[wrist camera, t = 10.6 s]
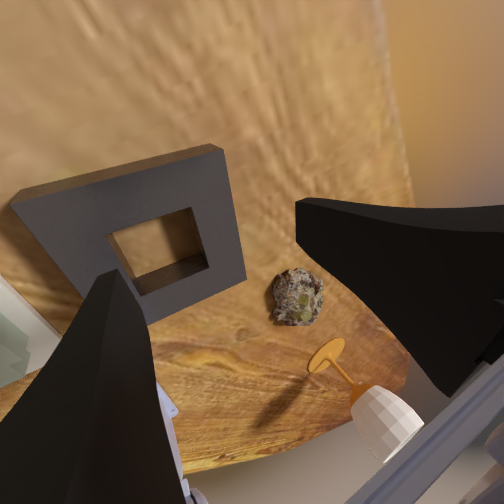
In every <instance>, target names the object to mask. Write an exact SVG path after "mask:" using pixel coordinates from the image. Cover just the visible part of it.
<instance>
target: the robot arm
mask: <svg viewBox="0 0 504 504" xmlns="http://www.w3.org/2000/svg"><path fill="white" fill-rule="evenodd" d="M295 215H296V242H297V243H298V245H299V246H300V247H301V248H302V249H303V250H304V251H305V252H306V253H307V254H308V256H309V257H311V258H312V259H313V260H314V261H315V262H316V263H318V264H319V265H320V266H321V267H323V268H324V269H325V270H326V271H328V272H329V273H330V274H331V275H333V276H334V277H335V278H336V279H338V280H339V281H340V282H341V283H343V284H344V285H345V286H346V287H347V288H349V289H350V290H351V291H352V292H353V293H354V294H355V295H357V296H358V297H359V298H360V299H361V300H362V301H363V302H364V303H365V304H366V305H367V306H368V307H369V308H370V309H371V310H372V311H373V312H374V314H375V315H376V316H377V317H378V318H379V319H380V320H381V321H382V322H383V323H384V324H385V325H386V326H387V327H388V329H389V330H390V331H391V332H392V333H393V334H394V335H395V337H396V338H397V339H398V340H399V341H400V342H401V344H402V345H403V346H404V347H405V348H406V349H407V350H408V352H409V353H410V354H411V356H412V357H413V358H414V359H415V361H416V362H417V363H418V364H419V366H420V367H421V368H422V369H423V371H424V372H425V373H426V374H427V376H428V377H429V378H430V380H431V381H432V383H433V384H434V385H435V386H436V387H437V388H438V389H439V390H440V391H441V392H442V393H444V394H445V395H446V396H447V397H449V398H450V397H452V396H453V395H454V394H455V393H456V392H457V391H458V390H459V389H460V388H461V387H462V386H463V385H464V384H466V382H468V381H469V380H470V379H471V378H472V377H473V376H474V375H475V374H476V373H478V372H479V371H480V370H481V369H482V368H483V367H484V366H485V365H486V364H487V363H489V364H490V365H491V366H490V367H489V368H488V369H487V370H486V371H485V372H484V373H483V374H482V375H481V376H480V377H478V378H477V379H476V380H475V381H474V382H473V383H472V384H471V385H470V386H469V387H468V388H467V389H466V390H465V391H464V392H463V393H461V394H460V395H459V396H458V397H457V398H456V399H455V400H454V401H453V402H452V403H451V404H450V405H449V406H448V407H446V408H445V409H444V410H443V411H442V412H441V413H440V414H439V415H438V416H437V417H436V418H435V419H434V420H433V421H432V422H431V423H429V424H428V425H427V426H426V427H425V428H424V429H423V430H422V431H421V432H420V433H419V434H418V435H417V436H416V437H415V438H413V440H412V441H410V442H409V443H408V444H407V445H406V446H405V447H404V448H403V449H402V450H401V451H400V452H398V454H396V455H395V456H394V457H393V458H392V459H391V460H390V461H389V462H388V463H387V464H386V465H385V466H384V467H383V468H381V470H379V471H378V472H377V473H376V474H375V475H374V476H373V477H372V478H371V479H370V480H369V481H368V482H367V483H366V484H364V485H363V486H362V487H361V488H360V489H359V490H358V491H357V492H356V493H355V494H354V495H353V496H352V497H350V498H349V499H348V500H347V501H346V502H345V503H344V504H414V503H415V502H416V501H417V500H418V499H419V498H420V497H421V496H422V495H423V494H424V493H425V492H426V490H427V489H428V488H429V487H430V486H431V485H432V484H433V483H434V482H435V481H436V480H437V479H438V478H439V477H440V475H441V474H442V473H443V472H444V471H445V470H446V469H447V468H448V467H449V466H450V465H451V464H452V463H453V461H454V460H455V459H456V458H457V457H458V456H459V455H460V454H461V453H462V452H463V451H464V450H465V449H466V447H468V445H469V444H470V443H471V442H472V441H473V440H474V439H475V438H476V437H477V436H478V435H479V434H480V433H481V432H482V431H483V429H484V428H485V427H486V426H487V425H488V424H489V423H490V422H491V421H492V420H493V419H494V418H495V417H496V416H497V414H498V413H499V412H500V411H501V410H502V409H503V408H504V205H495V206H482V207H467V208H466V207H465V208H405V207H390V206H379V205H370V204H362V203H354V202H347V201H339V200H332V199H323V198H304V199H302V200H299V201H296V202H295ZM177 414H178V409H177V408H176V406H175V405H174V404H173V402H172V401H171V400H170V398H169V397H168V396H167V394H166V393H165V392H164V390H163V389H162V388H161V386H160V385H159V384H158V382H157V381H156V377H155V370H154V363H153V356H152V349H151V343H150V336H149V331H148V328H147V324H146V321H145V317H144V314H143V311H142V308H141V307H140V305H139V303H138V302H137V300H136V298H135V297H134V295H133V293H132V292H131V290H130V288H129V287H128V285H127V283H126V282H125V280H124V278H123V277H122V275H121V273H120V272H119V270H118V268H117V269H115V270H112V271H109V272H107V273H104V274H101V275H99V276H97V278H96V280H95V281H94V283H93V285H92V287H91V289H90V291H89V293H88V294H87V296H86V298H85V300H84V302H83V304H82V305H81V307H80V309H79V311H78V312H77V314H76V316H75V318H74V320H73V321H72V323H71V325H70V326H69V328H68V330H67V331H66V333H65V334H64V336H63V337H62V339H61V341H60V342H59V344H58V345H57V347H56V348H55V350H54V352H53V353H52V355H51V356H50V358H49V359H48V361H47V362H46V364H45V365H44V366H43V368H42V369H41V371H40V372H39V373H38V375H37V376H36V378H35V379H34V380H33V382H32V383H31V384H30V385H29V387H28V388H27V389H26V391H25V392H24V393H23V395H22V396H21V397H20V399H19V400H18V401H17V403H16V404H15V405H14V406H13V408H12V409H11V410H10V411H9V413H8V414H7V415H6V416H5V417H4V418H3V420H2V421H1V422H0V504H208V502H207V499H206V498H205V496H204V495H203V494H202V493H200V492H199V491H198V489H196V488H191V489H189V486H188V481H187V479H184V480H182V477H183V468H182V462H181V458H180V454H179V449H178V445H177V440H176V436H175V432H174V427H173V423H172V419H171V418H172V417H174V416H176V415H177ZM484 449H485V451H486V452H487V453H488V454H489V455H490V456H491V457H493V458H494V459H495V460H496V461H497V463H496V464H495V465H494V466H493V467H492V468H491V469H490V470H489V471H488V472H487V473H486V474H485V475H484V476H483V477H482V478H481V479H480V480H479V481H478V482H477V483H476V484H475V485H474V487H472V489H471V490H470V491H469V492H468V493H467V494H466V495H465V496H464V497H463V498H462V499H461V500H460V501H459V502H458V503H457V504H504V422H503V423H501V424H500V425H499V426H498V427H497V428H496V429H495V430H494V431H493V432H492V434H491V435H490V437H489V438H488V440H487V442H486V443H485V445H484Z"/></svg>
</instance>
